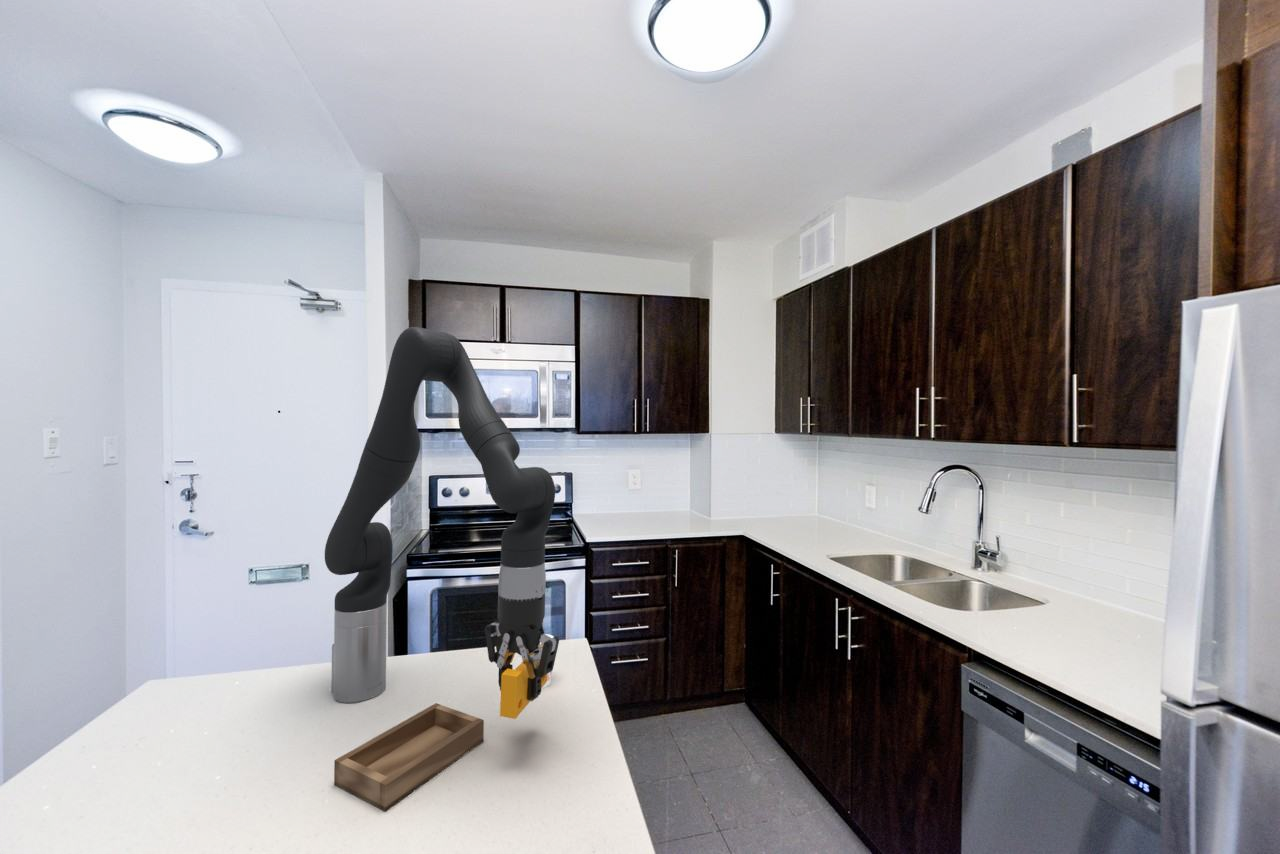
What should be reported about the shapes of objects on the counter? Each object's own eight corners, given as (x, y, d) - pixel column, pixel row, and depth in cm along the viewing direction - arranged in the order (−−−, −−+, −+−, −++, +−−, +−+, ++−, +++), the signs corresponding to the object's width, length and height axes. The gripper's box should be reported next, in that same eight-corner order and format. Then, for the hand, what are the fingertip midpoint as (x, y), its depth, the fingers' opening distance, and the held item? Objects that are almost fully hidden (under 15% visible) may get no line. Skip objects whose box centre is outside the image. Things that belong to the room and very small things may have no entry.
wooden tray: (334, 784, 77) (334, 760, 77) (435, 723, 93) (435, 703, 93) (385, 811, 71) (385, 785, 72) (483, 741, 88) (483, 719, 88)
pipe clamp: (524, 677, 92) (525, 641, 92) (547, 681, 91) (548, 644, 91) (489, 714, 80) (491, 672, 80) (515, 719, 79) (517, 676, 79)
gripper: (472, 588, 85) (469, 692, 85) (542, 604, 79) (539, 717, 79) (504, 577, 92) (501, 674, 92) (571, 591, 85) (569, 695, 85)
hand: (519, 693), depth 85 cm, fingers closed on pipe clamp, 5 cm apart
